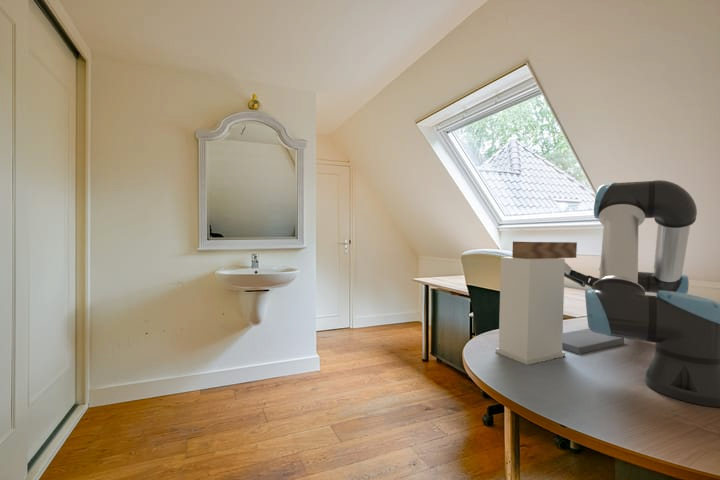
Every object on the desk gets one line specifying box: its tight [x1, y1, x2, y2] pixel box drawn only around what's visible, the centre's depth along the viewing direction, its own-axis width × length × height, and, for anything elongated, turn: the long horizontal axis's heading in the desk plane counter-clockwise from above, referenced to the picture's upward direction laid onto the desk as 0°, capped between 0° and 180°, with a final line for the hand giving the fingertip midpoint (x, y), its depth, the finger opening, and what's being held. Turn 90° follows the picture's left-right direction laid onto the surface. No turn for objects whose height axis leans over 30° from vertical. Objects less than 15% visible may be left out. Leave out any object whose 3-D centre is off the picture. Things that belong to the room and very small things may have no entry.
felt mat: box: [562, 328, 625, 355], centre depth 116 cm, size 26×12×2 cm, turn 116°
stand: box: [495, 256, 566, 366], centre depth 104 cm, size 17×11×30 cm, turn 116°
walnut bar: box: [511, 240, 578, 259], centre depth 106 cm, size 24×5×5 cm, turn 116°
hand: (579, 264), depth 114 cm, fingers open, 13 cm apart
